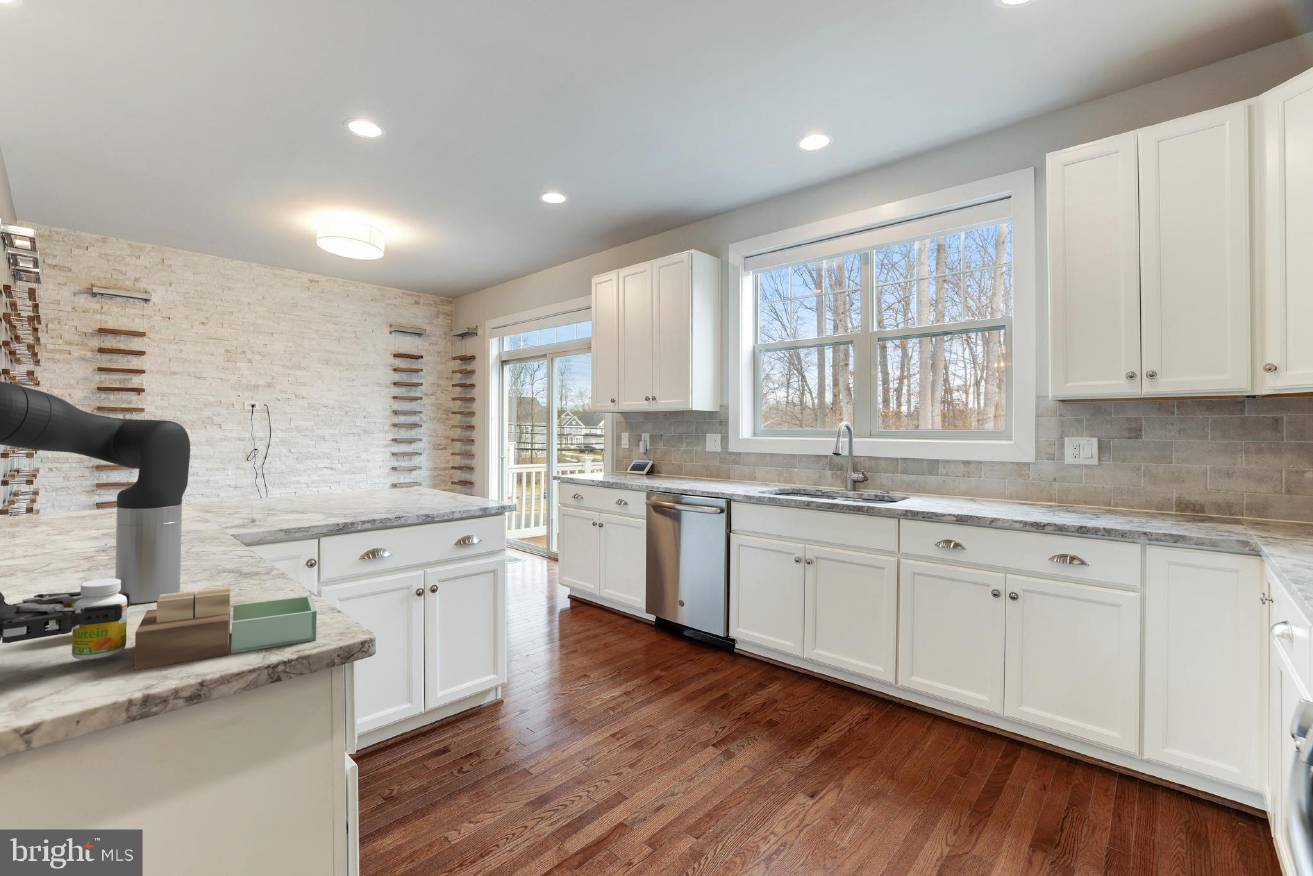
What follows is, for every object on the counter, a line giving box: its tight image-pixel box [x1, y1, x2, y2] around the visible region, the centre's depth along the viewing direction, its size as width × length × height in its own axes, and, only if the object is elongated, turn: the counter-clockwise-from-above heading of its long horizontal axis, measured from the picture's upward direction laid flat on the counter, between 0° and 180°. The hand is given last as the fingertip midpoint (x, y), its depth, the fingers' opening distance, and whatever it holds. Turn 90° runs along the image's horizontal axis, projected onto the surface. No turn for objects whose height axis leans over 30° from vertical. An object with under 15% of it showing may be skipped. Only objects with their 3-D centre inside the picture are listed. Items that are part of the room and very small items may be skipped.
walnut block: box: [134, 608, 231, 670], centre depth 85 cm, size 11×10×5 cm
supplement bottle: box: [71, 578, 128, 660], centre depth 80 cm, size 5×5×10 cm
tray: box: [230, 595, 317, 654], centre depth 91 cm, size 10×11×4 cm
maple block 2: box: [195, 587, 231, 618], centre depth 87 cm, size 4×4×3 cm
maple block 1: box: [156, 590, 197, 623], centre depth 84 cm, size 4×4×3 cm
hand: (125, 606), depth 81 cm, fingers closed on supplement bottle, 5 cm apart
